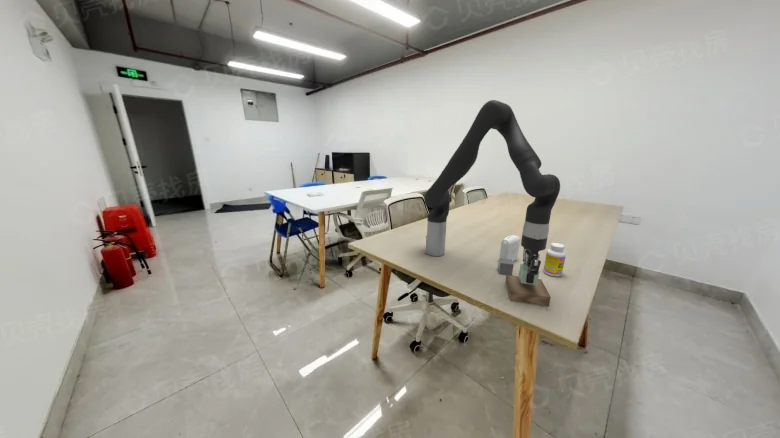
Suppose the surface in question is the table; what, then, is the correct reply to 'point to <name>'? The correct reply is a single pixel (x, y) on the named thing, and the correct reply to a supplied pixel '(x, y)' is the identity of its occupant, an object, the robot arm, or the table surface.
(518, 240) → the photo printer
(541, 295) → the walnut block
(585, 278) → the table surface
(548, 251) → the supplement bottle
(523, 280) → the sage cube
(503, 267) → the charcoal cube
